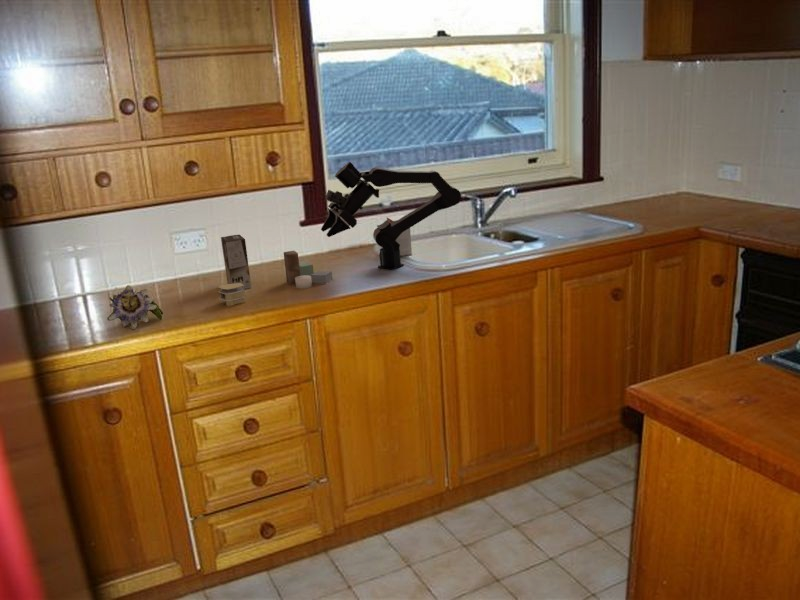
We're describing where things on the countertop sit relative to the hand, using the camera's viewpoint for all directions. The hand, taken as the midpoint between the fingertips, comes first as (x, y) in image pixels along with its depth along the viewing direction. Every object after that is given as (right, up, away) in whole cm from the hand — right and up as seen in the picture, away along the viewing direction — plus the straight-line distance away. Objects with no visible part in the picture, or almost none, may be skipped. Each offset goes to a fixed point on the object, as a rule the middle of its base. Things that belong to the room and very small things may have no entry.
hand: (324, 233), depth 242 cm
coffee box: (-27, -18, -2) cm, 32 cm away
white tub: (-6, -17, -7) cm, 20 cm away
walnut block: (-10, -16, -2) cm, 19 cm away
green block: (-7, -14, +6) cm, 16 cm away
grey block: (0, -16, -3) cm, 16 cm away
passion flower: (-49, -29, -33) cm, 66 cm away
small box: (+25, -5, +26) cm, 37 cm away
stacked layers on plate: (-25, -23, -19) cm, 39 cm away
